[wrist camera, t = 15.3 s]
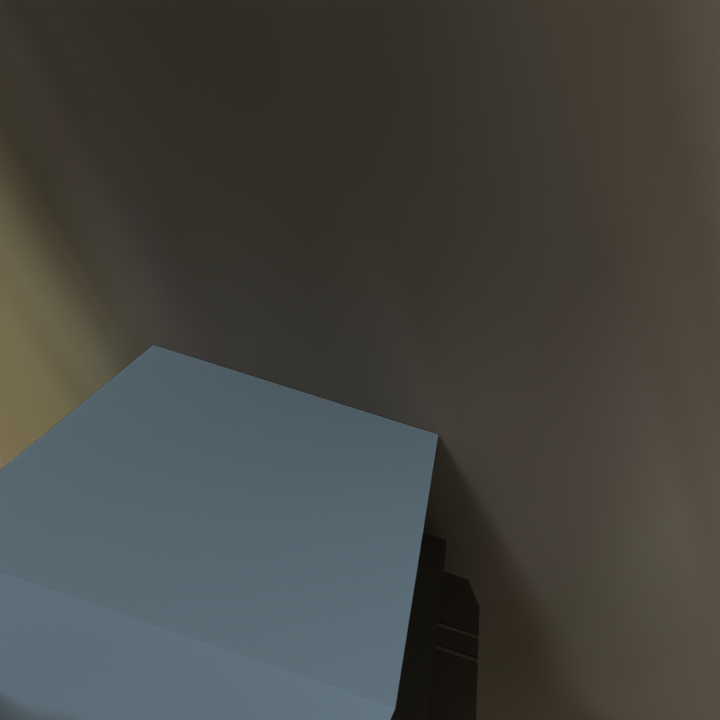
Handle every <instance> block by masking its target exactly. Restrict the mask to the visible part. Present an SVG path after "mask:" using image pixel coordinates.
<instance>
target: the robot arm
mask: <svg viewBox="0 0 720 720" xmlns="http://www.w3.org/2000/svg"><path fill="white" fill-rule="evenodd" d="M445 549H446V540H445V539H442V538H439V537H436V536H433V535H429V534H426V533H423V535H422V541H421V548H420V554H419V560H418V567H417V573H416V579H415V586H414V592H413V598H412V605H411V611H410V617H409V624H408V630H407V637H406V643H405V649H404V656H403V662H402V668H401V675H400V681H399V687H398V694H397V700H396V706H395V710H394V712H393V715H392V717H391V720H476V697H477V666H478V663H477V658H478V640H477V638H478V635H479V605H478V602H477V600H476V598H475V595H474V593H473V590H472V588H471V585H470V583H469V581H468V579H465V578H462V577H459V576H456V575H453V574H450V573H446V572H443V568H444V558H445Z"/></svg>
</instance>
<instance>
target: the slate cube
mask: <svg viewBox="0 0 720 720" xmlns="http://www.w3.org/2000/svg"><path fill="white" fill-rule="evenodd" d="M437 440H438V434H435V433H431V432H428V431H425V430H422V429H419V428H416V427H412V426H409V425H406V424H403V423H400V422H397V421H393V420H390V419H387V418H384V417H381V416H377V415H374V414H371V413H368V412H365V411H362V410H358V409H355V408H352V407H349V406H346V405H343V404H339V403H336V402H333V401H330V400H327V399H324V398H320V397H317V396H314V395H311V394H308V393H304V392H301V391H298V390H295V389H292V388H289V387H285V386H282V385H279V384H276V383H273V382H270V381H266V380H263V379H260V378H257V377H254V376H250V375H247V374H244V373H241V372H238V371H235V370H231V369H228V368H225V367H222V366H219V365H216V364H212V363H209V362H206V361H203V360H200V359H196V358H193V357H190V356H187V355H184V354H181V353H177V352H174V351H171V350H168V349H165V348H162V347H158V346H155V345H153V346H151V347H150V348H149V349H148V350H146V351H145V352H144V353H143V354H142V355H140V356H139V357H138V358H137V359H135V360H134V361H133V362H132V363H131V364H129V365H128V366H127V367H126V368H124V369H123V370H122V371H121V372H120V373H118V374H117V375H116V376H115V377H114V378H112V379H111V380H110V381H109V382H107V383H106V384H105V385H104V386H103V387H101V388H100V389H99V390H98V391H96V392H95V393H94V394H93V395H92V396H90V397H89V398H88V399H87V400H85V401H84V402H83V403H82V404H81V405H79V406H78V407H77V408H76V409H74V410H73V411H72V412H71V413H70V414H68V415H67V416H66V417H65V418H63V419H62V420H61V421H60V422H59V423H57V424H56V425H55V426H54V427H52V428H51V429H50V430H49V431H48V432H46V433H45V434H44V435H43V436H41V437H40V438H39V439H38V440H37V441H35V442H34V443H33V444H32V445H30V446H29V447H28V448H27V449H26V450H24V451H23V452H22V453H21V454H19V455H18V456H17V457H16V458H15V459H13V460H12V461H11V462H10V463H8V464H7V465H6V466H5V467H4V468H2V469H1V470H0V720H391V717H392V715H393V712H394V710H395V706H396V700H397V694H398V687H399V681H400V675H401V668H402V662H403V656H404V649H405V643H406V637H407V630H408V624H409V617H410V611H411V605H412V598H413V592H414V586H415V579H416V573H417V567H418V560H419V554H420V548H421V541H422V535H423V529H424V522H425V516H426V510H427V503H428V497H429V490H430V484H431V478H432V471H433V465H434V459H435V452H436V446H437Z"/></svg>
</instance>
